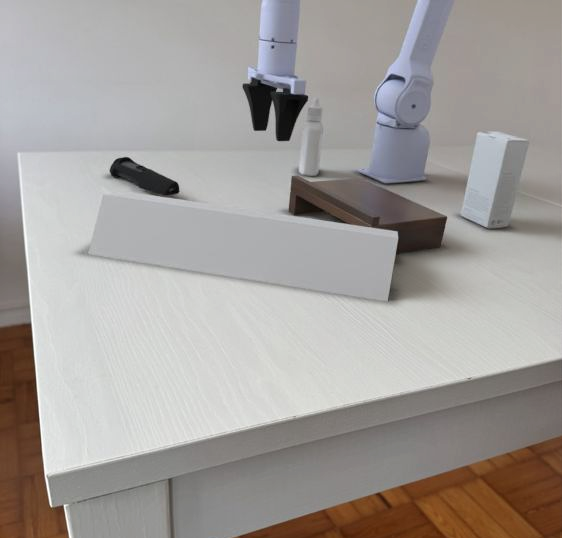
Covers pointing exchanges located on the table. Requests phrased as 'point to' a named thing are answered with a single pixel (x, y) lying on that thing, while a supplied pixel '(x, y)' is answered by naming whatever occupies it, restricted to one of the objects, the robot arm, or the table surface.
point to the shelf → (370, 210)
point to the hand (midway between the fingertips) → (271, 135)
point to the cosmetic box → (494, 178)
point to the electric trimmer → (143, 177)
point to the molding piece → (246, 244)
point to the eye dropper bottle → (311, 141)
